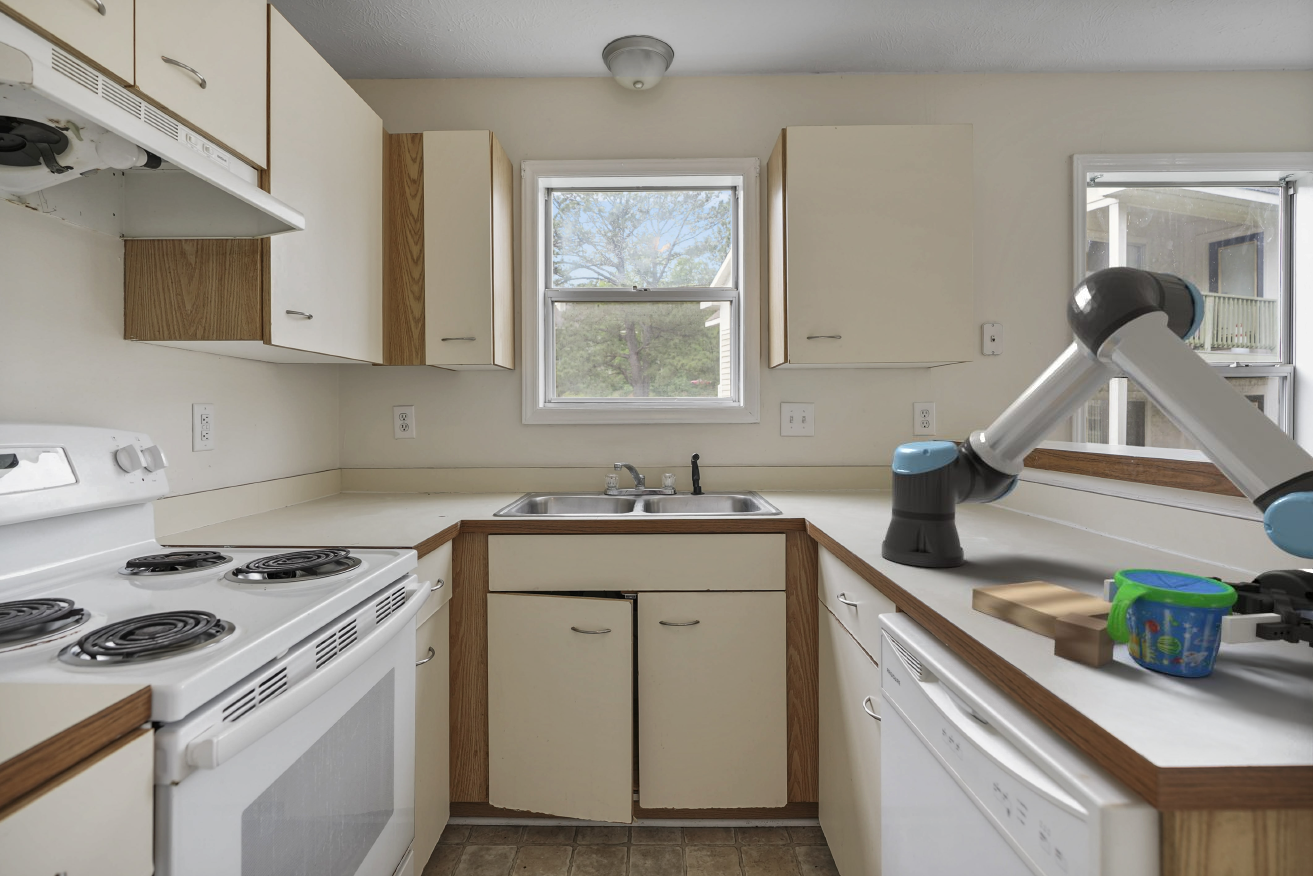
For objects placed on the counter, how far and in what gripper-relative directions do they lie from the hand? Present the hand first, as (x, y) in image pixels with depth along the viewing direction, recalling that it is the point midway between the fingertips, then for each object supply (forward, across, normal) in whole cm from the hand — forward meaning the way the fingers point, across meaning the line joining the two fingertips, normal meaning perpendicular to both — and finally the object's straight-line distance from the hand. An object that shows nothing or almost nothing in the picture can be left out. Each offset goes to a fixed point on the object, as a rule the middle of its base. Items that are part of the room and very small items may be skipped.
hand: (1159, 608), depth 69 cm
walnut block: (+6, +4, -7) cm, 10 cm away
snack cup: (-2, 0, -7) cm, 7 cm away
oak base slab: (-1, +16, -7) cm, 18 cm away
